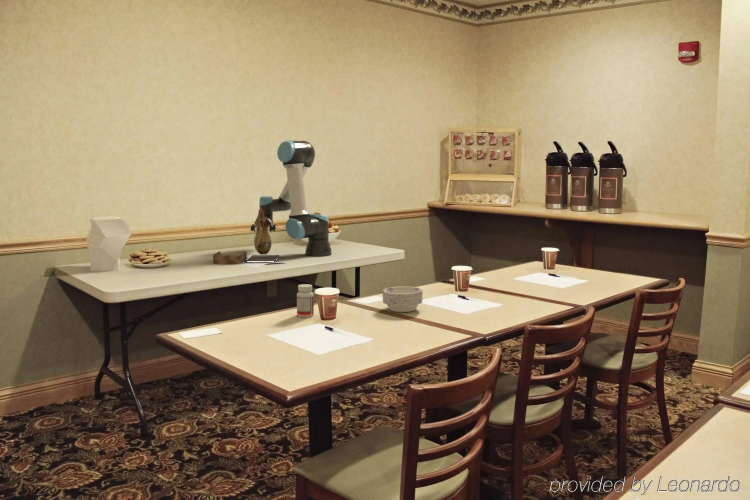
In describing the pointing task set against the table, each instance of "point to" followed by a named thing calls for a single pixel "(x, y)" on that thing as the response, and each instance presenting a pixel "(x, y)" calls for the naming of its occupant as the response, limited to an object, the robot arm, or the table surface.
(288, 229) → the robot arm
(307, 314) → the pill bottle
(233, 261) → the holder
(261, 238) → the ceramic vessel
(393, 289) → the paper bowls
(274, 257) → the mat
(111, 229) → the white faceted vase
